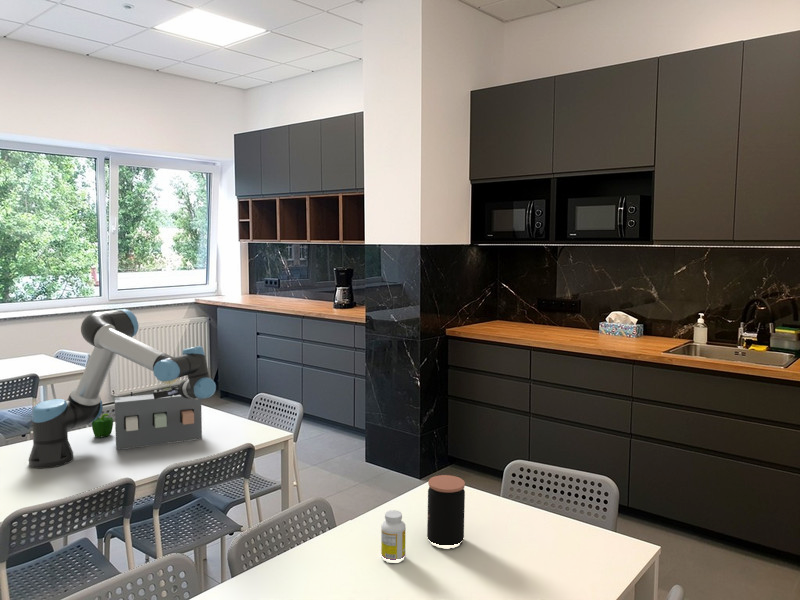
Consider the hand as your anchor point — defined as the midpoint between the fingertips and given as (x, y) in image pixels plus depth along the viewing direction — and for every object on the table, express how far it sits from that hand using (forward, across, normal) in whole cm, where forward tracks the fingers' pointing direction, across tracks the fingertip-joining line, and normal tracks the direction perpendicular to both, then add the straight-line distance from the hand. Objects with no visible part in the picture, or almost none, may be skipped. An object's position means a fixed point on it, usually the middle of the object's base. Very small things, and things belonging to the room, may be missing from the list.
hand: (172, 389), depth 246 cm
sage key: (+11, -4, -14) cm, 19 cm away
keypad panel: (+18, -4, -22) cm, 29 cm away
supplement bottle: (-117, +9, -52) cm, 128 cm away
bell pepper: (+41, -20, -16) cm, 48 cm away
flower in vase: (+40, +12, -19) cm, 46 cm away
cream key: (+14, -14, -13) cm, 24 cm away
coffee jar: (-119, +27, -54) cm, 134 cm away
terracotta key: (+9, +7, -16) cm, 19 cm away
